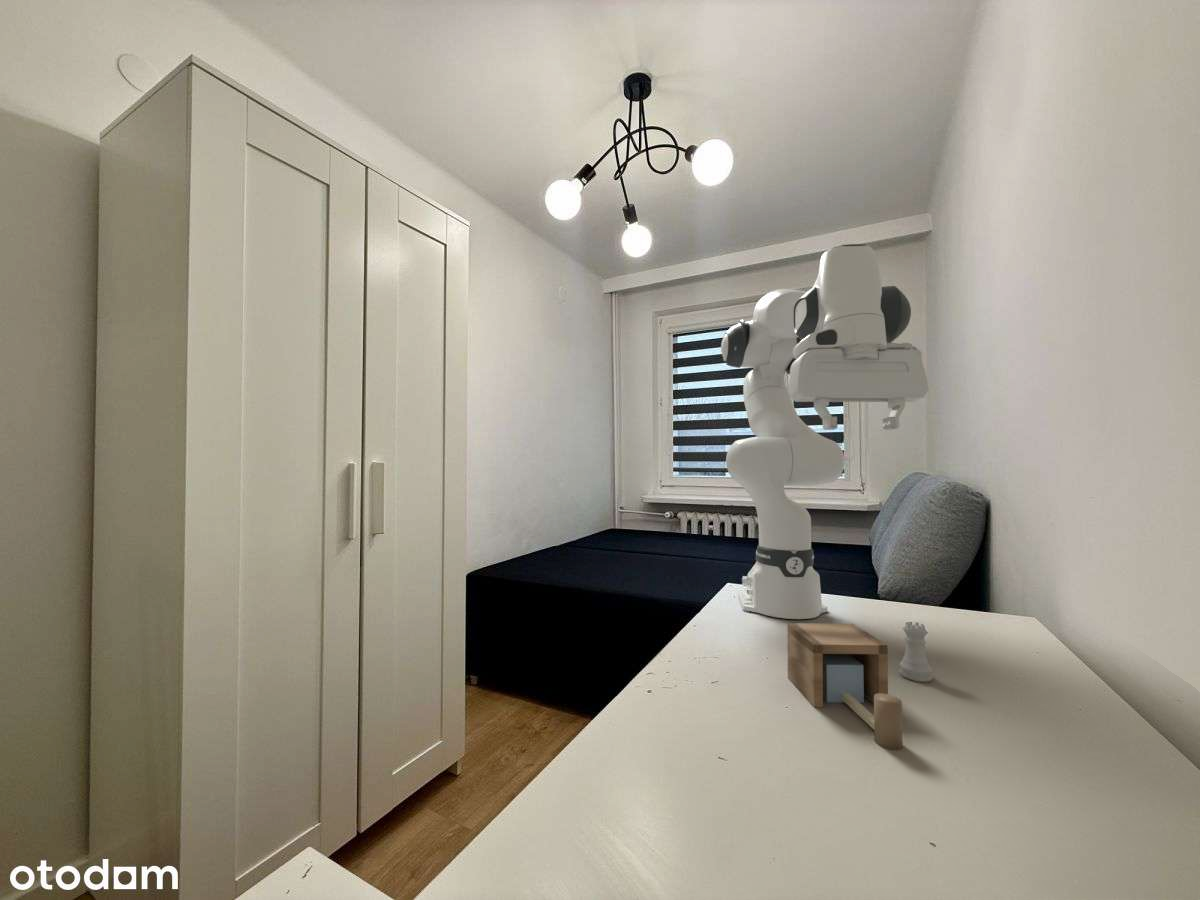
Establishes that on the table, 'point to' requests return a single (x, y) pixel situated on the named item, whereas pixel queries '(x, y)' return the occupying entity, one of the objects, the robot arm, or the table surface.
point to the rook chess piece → (915, 654)
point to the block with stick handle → (862, 698)
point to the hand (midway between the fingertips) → (861, 429)
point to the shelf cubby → (834, 639)
